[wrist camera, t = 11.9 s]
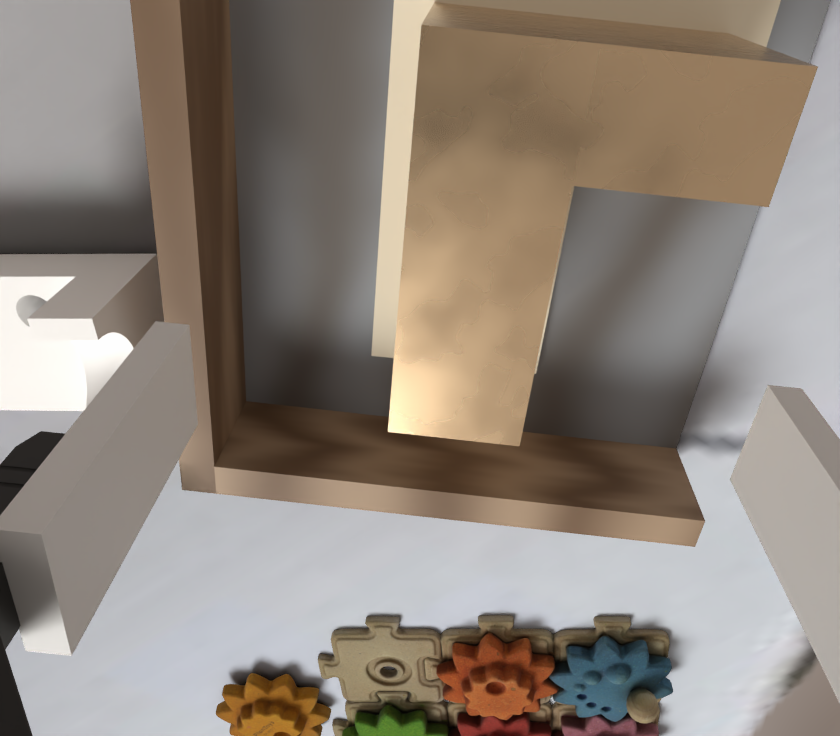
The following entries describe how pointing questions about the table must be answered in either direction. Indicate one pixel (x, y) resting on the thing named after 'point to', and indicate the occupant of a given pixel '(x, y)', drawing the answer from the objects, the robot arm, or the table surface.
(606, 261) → the arena
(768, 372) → the table surface
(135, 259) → the bracket
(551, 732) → the gear puzzle
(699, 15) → the pad
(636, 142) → the wooden l-shaped block
